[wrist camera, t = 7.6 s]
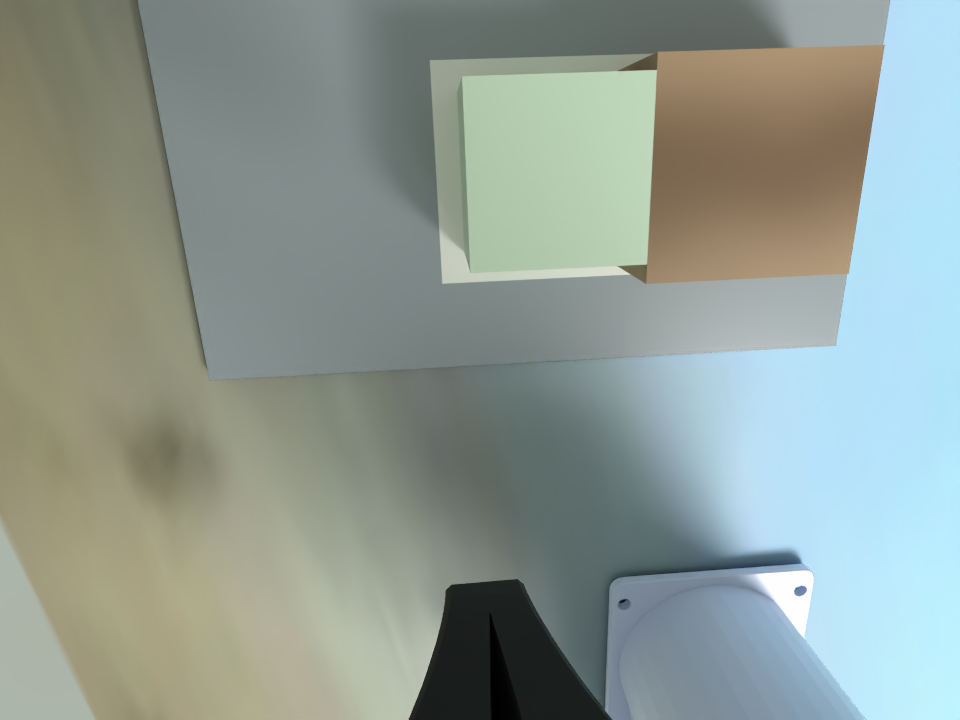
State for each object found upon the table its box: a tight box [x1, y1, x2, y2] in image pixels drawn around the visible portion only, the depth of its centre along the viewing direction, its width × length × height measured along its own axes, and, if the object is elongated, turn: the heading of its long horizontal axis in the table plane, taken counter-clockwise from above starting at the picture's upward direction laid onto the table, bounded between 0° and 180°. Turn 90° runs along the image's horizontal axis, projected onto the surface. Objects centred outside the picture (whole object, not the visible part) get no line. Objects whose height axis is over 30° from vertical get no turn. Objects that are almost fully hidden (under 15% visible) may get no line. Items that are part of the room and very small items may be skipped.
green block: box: [457, 70, 657, 273], centre depth 17 cm, size 5×5×4 cm
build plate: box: [138, 0, 890, 381], centre depth 19 cm, size 12×21×1 cm, turn 92°
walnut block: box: [618, 45, 884, 284], centre depth 17 cm, size 6×6×4 cm
